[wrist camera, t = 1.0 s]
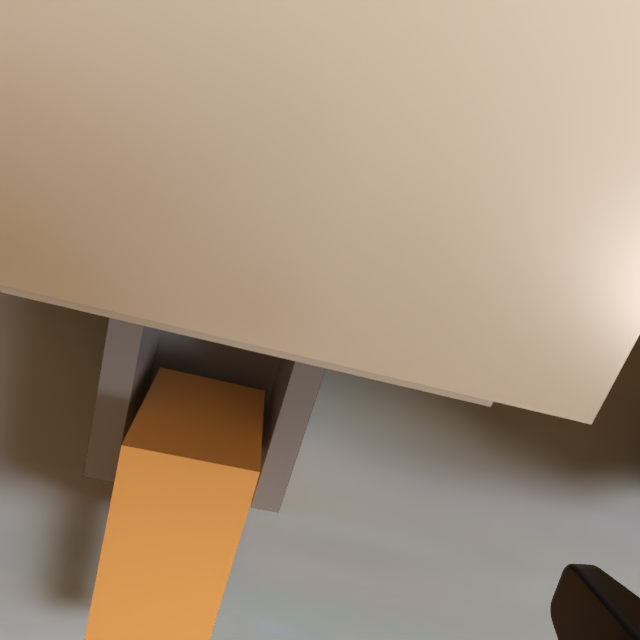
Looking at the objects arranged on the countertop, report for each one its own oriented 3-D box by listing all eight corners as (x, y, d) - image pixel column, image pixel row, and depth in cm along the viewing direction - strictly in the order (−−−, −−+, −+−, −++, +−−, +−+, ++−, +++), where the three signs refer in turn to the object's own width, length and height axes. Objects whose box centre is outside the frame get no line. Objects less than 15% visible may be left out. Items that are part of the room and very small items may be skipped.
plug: (160, 367, 19) (121, 445, 14) (264, 390, 20) (259, 472, 15) (102, 646, 24) (58, 772, 19) (188, 657, 25) (166, 782, 20)
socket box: (18, -174, 15) (-336, -581, 6) (574, 35, 18) (844, -48, 9) (-24, 377, 20) (-237, 553, 12) (400, 465, 23) (467, 656, 15)
